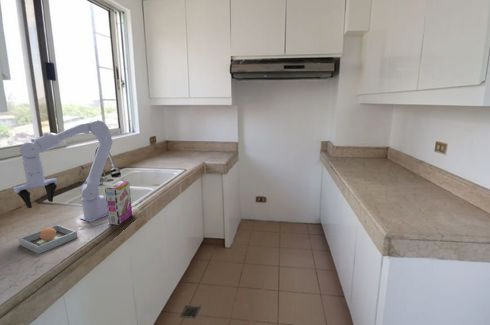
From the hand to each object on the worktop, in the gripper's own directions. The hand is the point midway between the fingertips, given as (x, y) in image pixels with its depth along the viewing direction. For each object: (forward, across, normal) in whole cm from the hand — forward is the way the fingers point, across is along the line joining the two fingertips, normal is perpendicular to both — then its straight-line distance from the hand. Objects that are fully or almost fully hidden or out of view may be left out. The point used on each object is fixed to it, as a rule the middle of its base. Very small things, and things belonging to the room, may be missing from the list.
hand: (40, 204), depth 109 cm
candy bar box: (+11, -20, +22) cm, 32 cm away
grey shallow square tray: (+10, +5, +14) cm, 18 cm away
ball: (+10, +5, +14) cm, 18 cm away
